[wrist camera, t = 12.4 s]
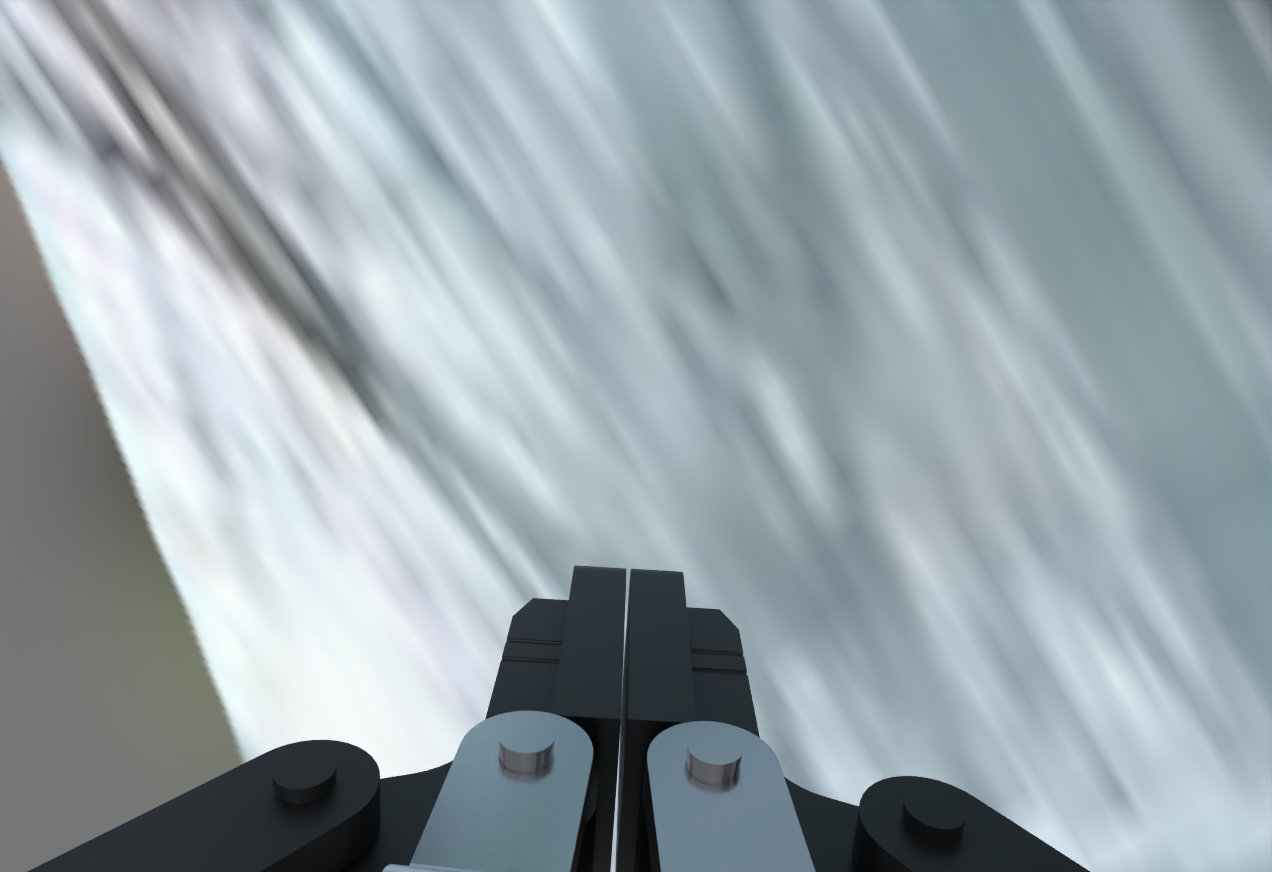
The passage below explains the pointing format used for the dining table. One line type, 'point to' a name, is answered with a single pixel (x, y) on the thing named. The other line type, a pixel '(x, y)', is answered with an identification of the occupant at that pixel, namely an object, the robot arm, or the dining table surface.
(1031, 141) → the dining table surface
